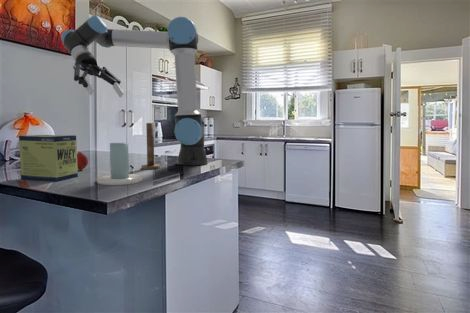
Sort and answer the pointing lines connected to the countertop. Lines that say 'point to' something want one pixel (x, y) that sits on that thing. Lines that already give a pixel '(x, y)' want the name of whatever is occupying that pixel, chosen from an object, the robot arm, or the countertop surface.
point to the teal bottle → (119, 160)
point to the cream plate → (119, 180)
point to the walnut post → (150, 148)
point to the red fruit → (81, 161)
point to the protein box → (48, 157)
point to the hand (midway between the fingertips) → (107, 93)
